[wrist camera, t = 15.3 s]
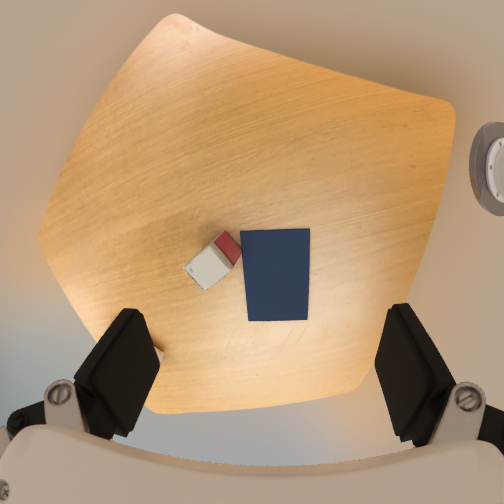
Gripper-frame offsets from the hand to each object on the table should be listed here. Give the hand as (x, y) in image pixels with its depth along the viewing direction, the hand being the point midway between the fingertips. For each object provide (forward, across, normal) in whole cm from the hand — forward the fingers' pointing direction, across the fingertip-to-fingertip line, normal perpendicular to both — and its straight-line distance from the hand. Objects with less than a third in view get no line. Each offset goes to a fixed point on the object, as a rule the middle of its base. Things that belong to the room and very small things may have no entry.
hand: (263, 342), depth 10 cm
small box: (+30, +8, +9) cm, 33 cm away
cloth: (+30, 0, +14) cm, 33 cm away
